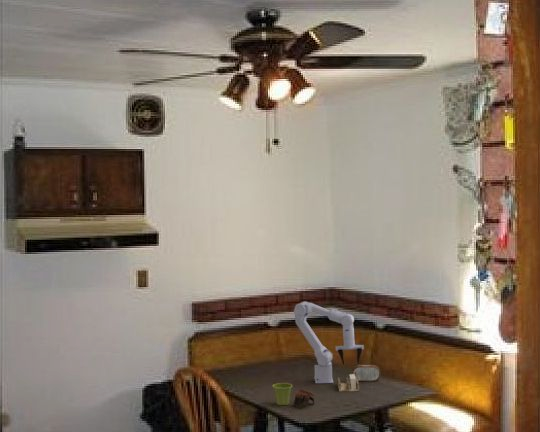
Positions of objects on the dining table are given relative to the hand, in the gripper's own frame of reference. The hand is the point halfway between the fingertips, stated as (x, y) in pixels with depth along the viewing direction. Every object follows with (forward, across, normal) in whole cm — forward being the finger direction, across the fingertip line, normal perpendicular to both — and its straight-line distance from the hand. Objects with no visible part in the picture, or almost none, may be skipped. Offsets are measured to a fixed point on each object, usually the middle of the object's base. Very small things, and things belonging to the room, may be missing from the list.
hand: (350, 363), depth 339 cm
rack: (+10, -2, -8) cm, 14 cm away
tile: (+10, 0, -8) cm, 13 cm away
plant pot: (+10, -35, -34) cm, 50 cm away
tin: (+11, +8, +5) cm, 14 cm away
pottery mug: (+10, -25, -38) cm, 46 cm away
